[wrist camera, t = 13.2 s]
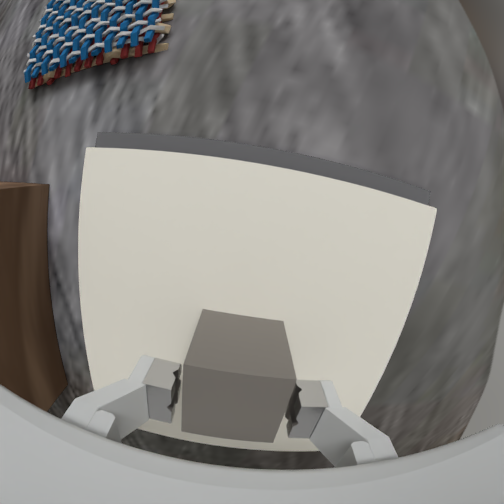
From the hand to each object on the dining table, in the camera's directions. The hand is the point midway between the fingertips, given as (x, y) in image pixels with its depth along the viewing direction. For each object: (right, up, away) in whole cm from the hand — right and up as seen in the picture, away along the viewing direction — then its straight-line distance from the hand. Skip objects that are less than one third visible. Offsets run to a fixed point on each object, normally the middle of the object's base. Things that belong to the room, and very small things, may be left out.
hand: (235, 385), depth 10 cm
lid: (0, +1, +5) cm, 5 cm away
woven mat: (-9, +20, +1) cm, 22 cm away
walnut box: (-20, +3, +5) cm, 21 cm away
